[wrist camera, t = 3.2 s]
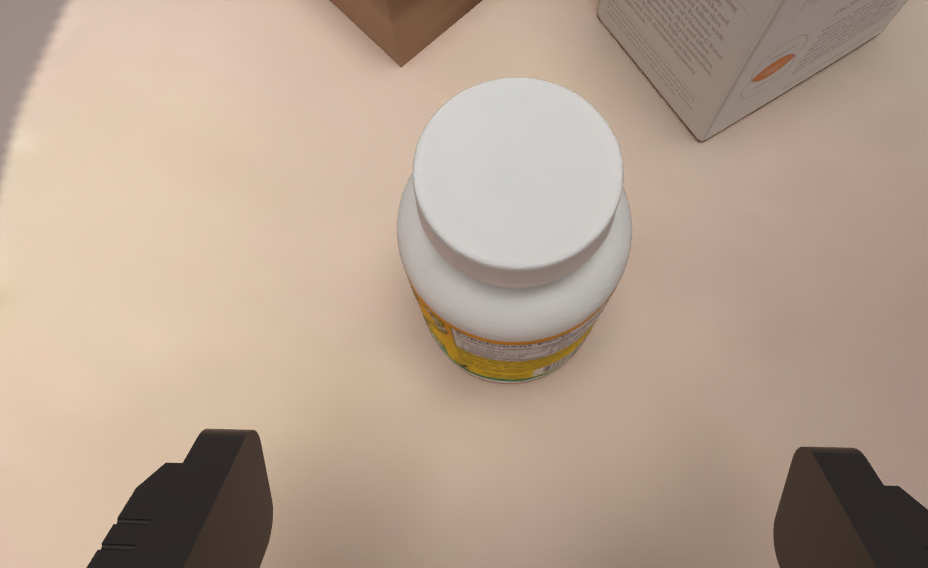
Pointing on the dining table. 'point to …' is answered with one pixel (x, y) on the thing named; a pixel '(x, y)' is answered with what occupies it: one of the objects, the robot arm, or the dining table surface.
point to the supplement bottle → (514, 226)
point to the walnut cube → (404, 22)
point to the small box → (737, 48)
